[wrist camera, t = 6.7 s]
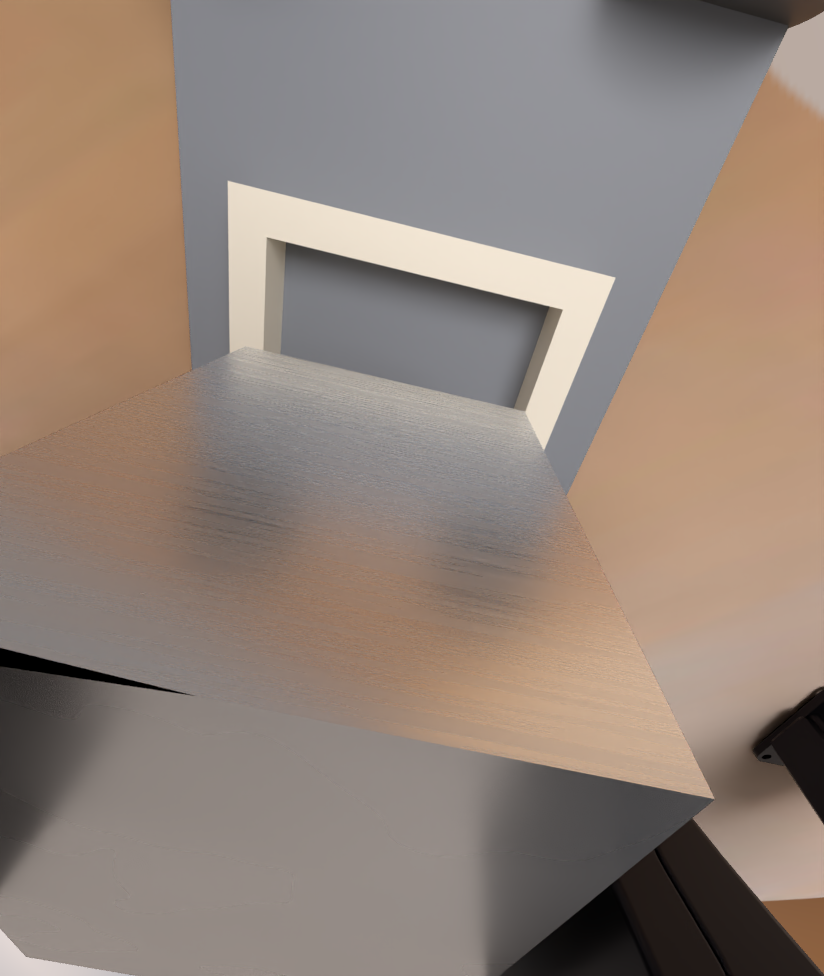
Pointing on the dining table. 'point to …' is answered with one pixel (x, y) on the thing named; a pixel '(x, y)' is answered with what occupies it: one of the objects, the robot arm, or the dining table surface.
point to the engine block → (313, 686)
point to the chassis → (456, 183)
